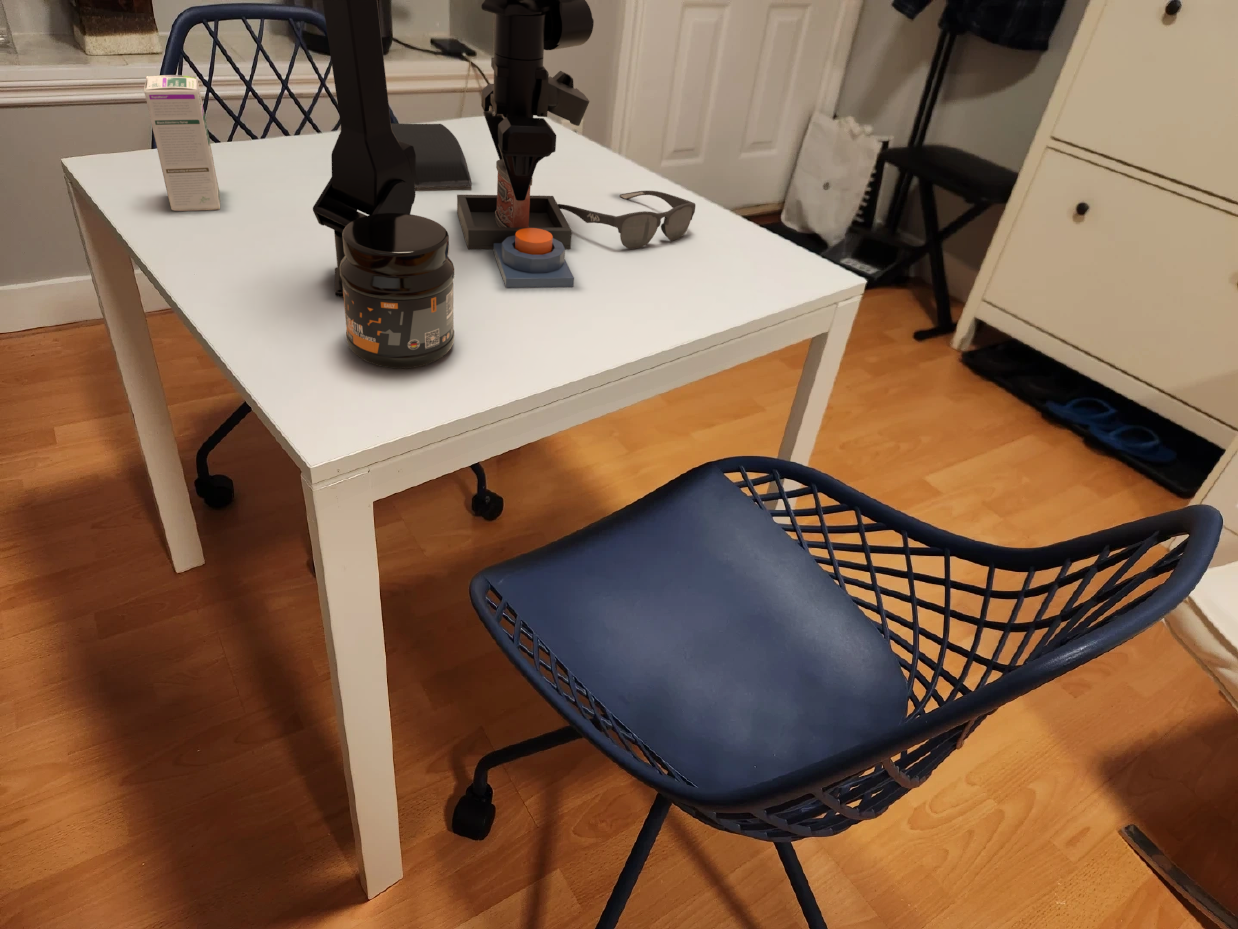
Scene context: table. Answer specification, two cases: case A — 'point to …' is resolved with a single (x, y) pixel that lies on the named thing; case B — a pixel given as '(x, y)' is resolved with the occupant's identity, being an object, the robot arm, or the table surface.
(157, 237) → the table surface
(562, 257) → the box
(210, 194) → the syrup box
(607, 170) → the table surface
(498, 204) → the lighter
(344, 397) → the table surface
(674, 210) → the sunglasses
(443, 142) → the hard drive
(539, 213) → the holder
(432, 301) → the supplement container
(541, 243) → the test button
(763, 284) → the table surface
